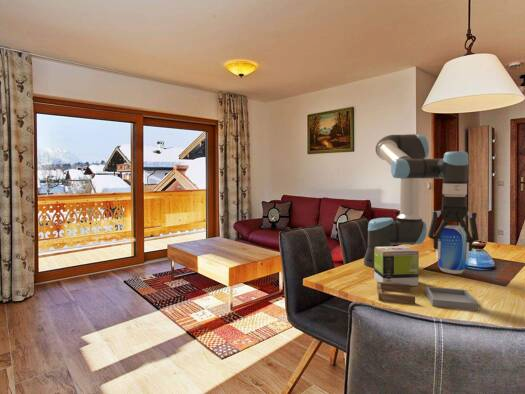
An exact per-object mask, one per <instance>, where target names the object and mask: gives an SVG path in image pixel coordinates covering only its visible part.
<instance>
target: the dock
mask: <svg viewBox="0 0 525 394" xmlns="http://www.w3.org/2000/svg"><path fill="white" fill-rule="evenodd" d="M382 289H383V290H385V291H395V292H402V293H403V292H406V293H411V286H410V285H406V284H395V283H383V282H377V281H376V290H377V298H378V301H383V302H391V303H392V302H393V303H401V304H402V303H403V304H410V305H411V304H412V305H416V296H415V295H409V294H400V293H398V294H397V293H388V292H387V293H386V292H383V291H382Z"/></svg>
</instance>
